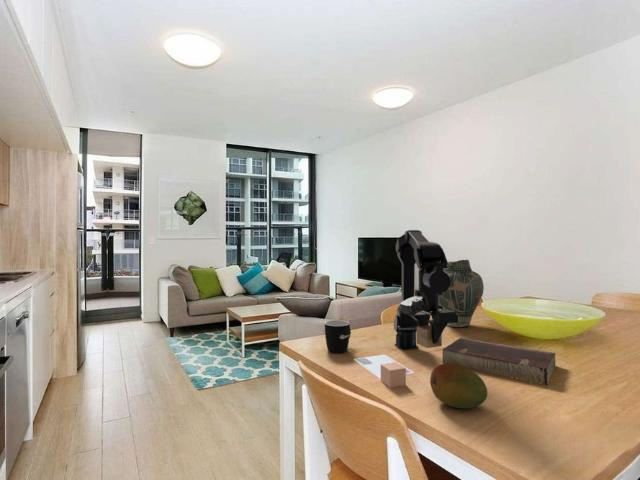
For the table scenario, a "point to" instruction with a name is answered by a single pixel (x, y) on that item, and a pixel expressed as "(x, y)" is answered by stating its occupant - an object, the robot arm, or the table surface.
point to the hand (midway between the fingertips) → (429, 341)
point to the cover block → (393, 374)
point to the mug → (337, 335)
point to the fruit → (457, 386)
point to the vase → (462, 292)
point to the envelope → (377, 364)
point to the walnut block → (426, 337)
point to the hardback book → (501, 359)
